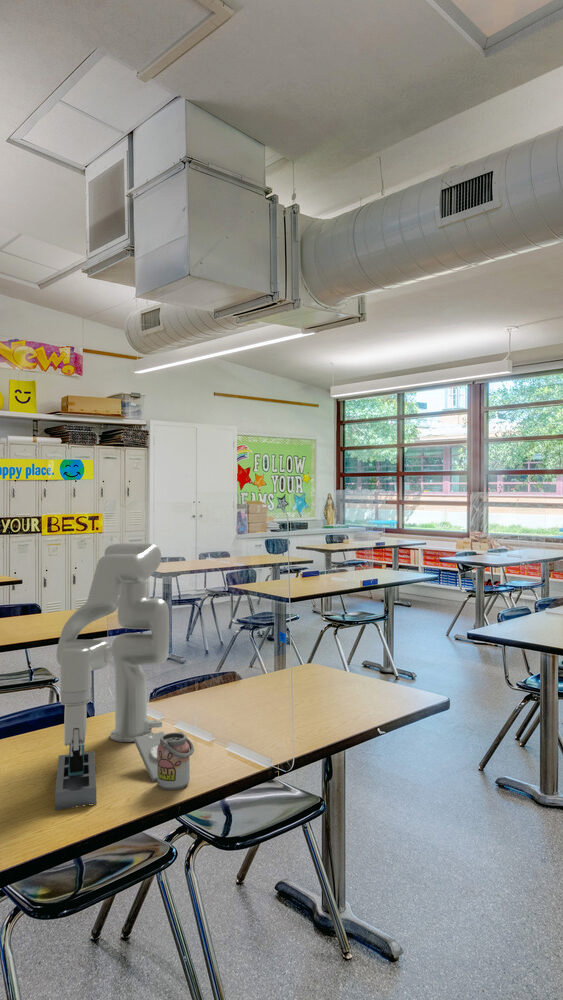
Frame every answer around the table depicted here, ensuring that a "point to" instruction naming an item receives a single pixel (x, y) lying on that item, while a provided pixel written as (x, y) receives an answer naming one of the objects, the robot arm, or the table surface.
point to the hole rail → (75, 783)
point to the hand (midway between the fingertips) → (76, 767)
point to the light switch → (145, 747)
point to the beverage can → (174, 761)
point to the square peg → (69, 761)
